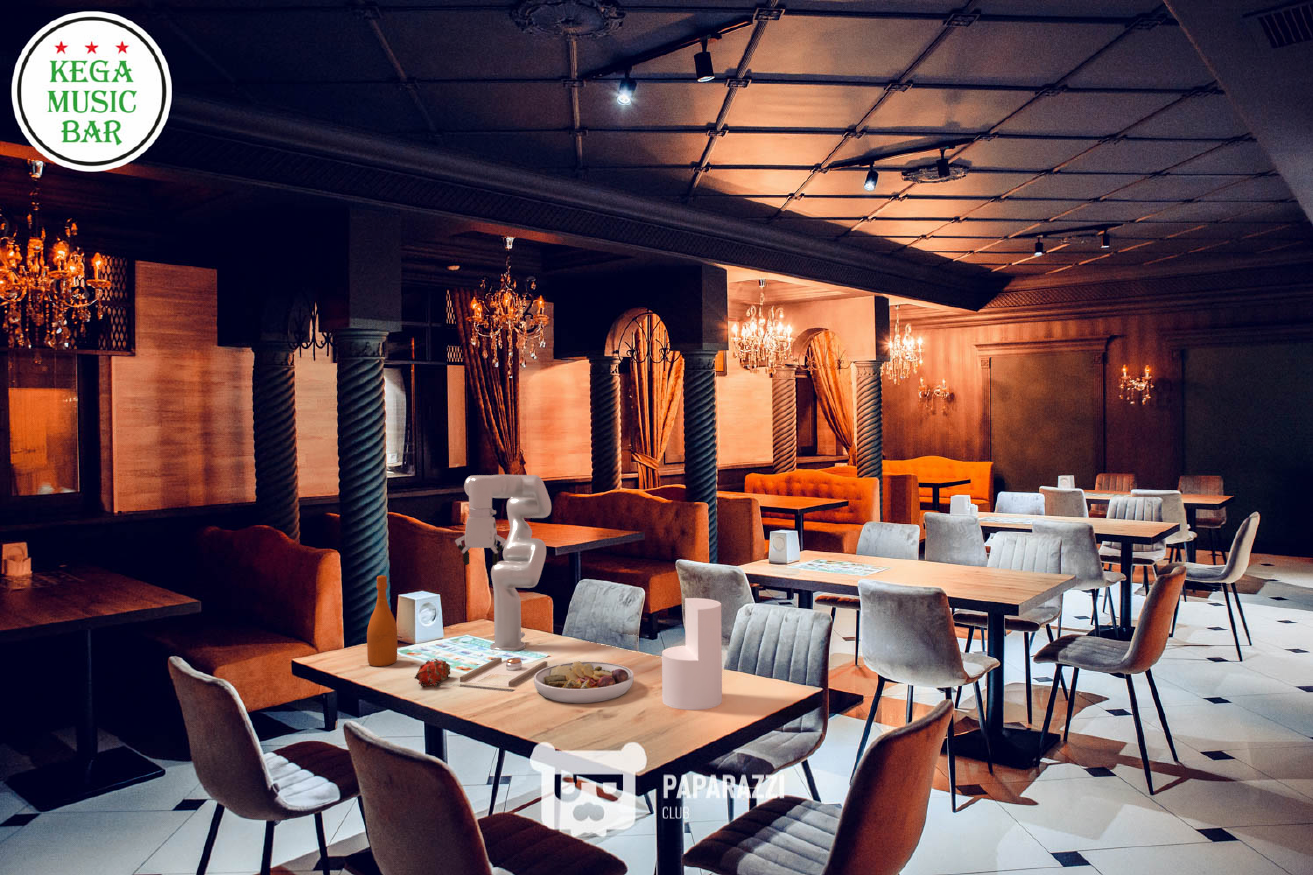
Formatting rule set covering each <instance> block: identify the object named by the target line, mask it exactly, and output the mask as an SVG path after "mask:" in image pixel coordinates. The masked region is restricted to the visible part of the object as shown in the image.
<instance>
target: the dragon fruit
mask: <svg viewBox="0 0 1313 875" xmlns="http://www.w3.org/2000/svg"><path fill="white" fill-rule="evenodd" d="M450 675H451V664H449V663H447V661H446V660H443V659H442V660H441V661H440V660H439V659H437V658H434V660H433V661H432V660H427V661H425V663H423V664H421V665H420V667H419V670H418V671H417V673H416V675H415V676H414V680H418V683H417V684H418V685H420V686H421V687H429V686H432V685H433V687H434V688H436V687H437V686H439V685H442V684H443V682H444V681H445V680H448V679H449V678H450ZM442 681H443V682H442Z"/></svg>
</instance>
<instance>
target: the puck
mask: <svg viewBox="0 0 1313 875" xmlns="http://www.w3.org/2000/svg"><path fill="white" fill-rule="evenodd" d="M505 663H506V670H508V671H517V670H521V669H522V664H523V661H522V659H521V658H519V657H510V658H507V660H506V662H505Z"/></svg>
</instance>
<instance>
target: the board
mask: <svg viewBox="0 0 1313 875" xmlns="http://www.w3.org/2000/svg"><path fill="white" fill-rule="evenodd" d="M502 659H503V658H502V657H497V658H495V659H492V660H491V661H489V662H487V663H485V664H483V665H480V666H479V667H477V668H474V669H473V670H471V671H469V672H467V673H465V674H463V675H461V676H459V683H461V684H459V687H460V688H468V689H469V688H470V689H478V690H479V689H480V690H489V691H499V692H509V693H510V692H511V693H512V692H514V691H516V689H512V688H514V687H515V686H517V685H519V684H520V683H522V682H523V681H525V680H527V679H529V678H530V677H532V676H534V675H535V674H536V673H537V672H538V671H540V670H542V669H544V668H547V667H548V661H542V662H540V663H538V664H526V663H522V669H521V670H517V671H508V670H506V662H504V661H503V660H502ZM491 675H496V676H505V677H506V676H507V677H508V676H509V677H510V678H508V679H506V680H505V681H502V682H501V683H491V682H483V681H482V682H481V680H483V679H486V678H487V677H489V676H491ZM462 683H467V684H462ZM470 684H471V685H470ZM472 684H477V685H472ZM482 685H487V686H482ZM491 686H493V687H491ZM494 686H497V687H494ZM498 686H499V687H498ZM502 687H507V688H502Z"/></svg>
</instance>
